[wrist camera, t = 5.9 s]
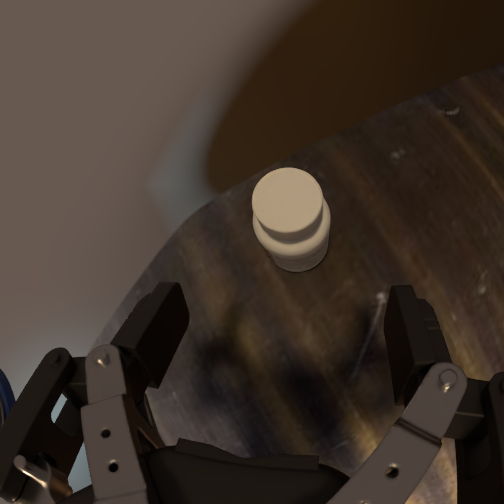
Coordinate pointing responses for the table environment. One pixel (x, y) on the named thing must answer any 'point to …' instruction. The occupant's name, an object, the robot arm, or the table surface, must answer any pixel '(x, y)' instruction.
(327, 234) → the pill bottle
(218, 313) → the table surface
